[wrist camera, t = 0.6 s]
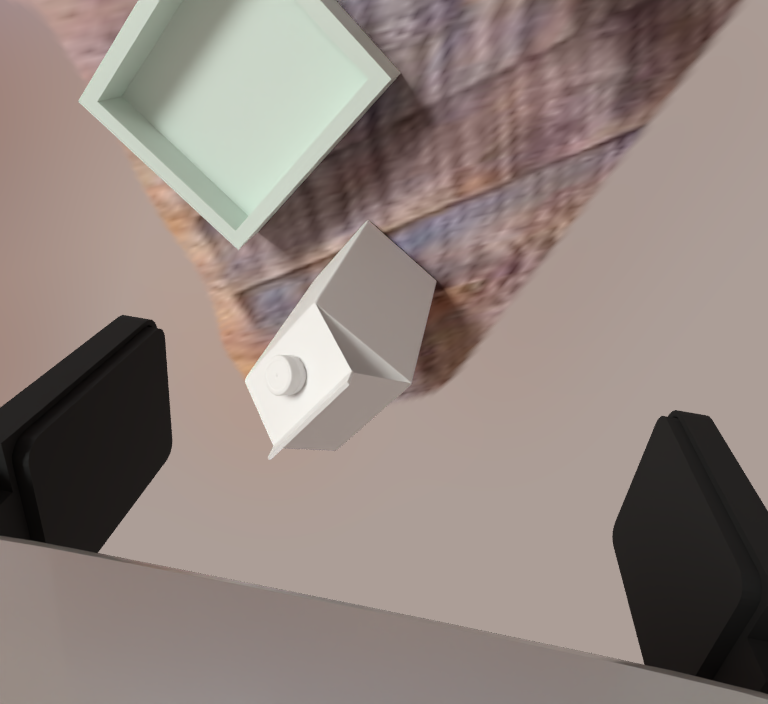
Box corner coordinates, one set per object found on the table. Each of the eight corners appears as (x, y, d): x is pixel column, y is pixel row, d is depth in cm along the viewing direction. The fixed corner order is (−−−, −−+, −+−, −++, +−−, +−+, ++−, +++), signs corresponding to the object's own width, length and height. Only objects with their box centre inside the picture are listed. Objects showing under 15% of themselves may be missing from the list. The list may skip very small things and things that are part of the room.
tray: (238, -109, 36) (210, -122, 32) (401, 73, 39) (391, 78, 36) (111, 94, 43) (78, 101, 40) (257, 232, 46) (238, 249, 43)
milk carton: (437, 280, 46) (402, 427, 30) (379, 337, 49) (318, 497, 33) (368, 218, 44) (290, 336, 28) (313, 281, 48) (215, 419, 31)
